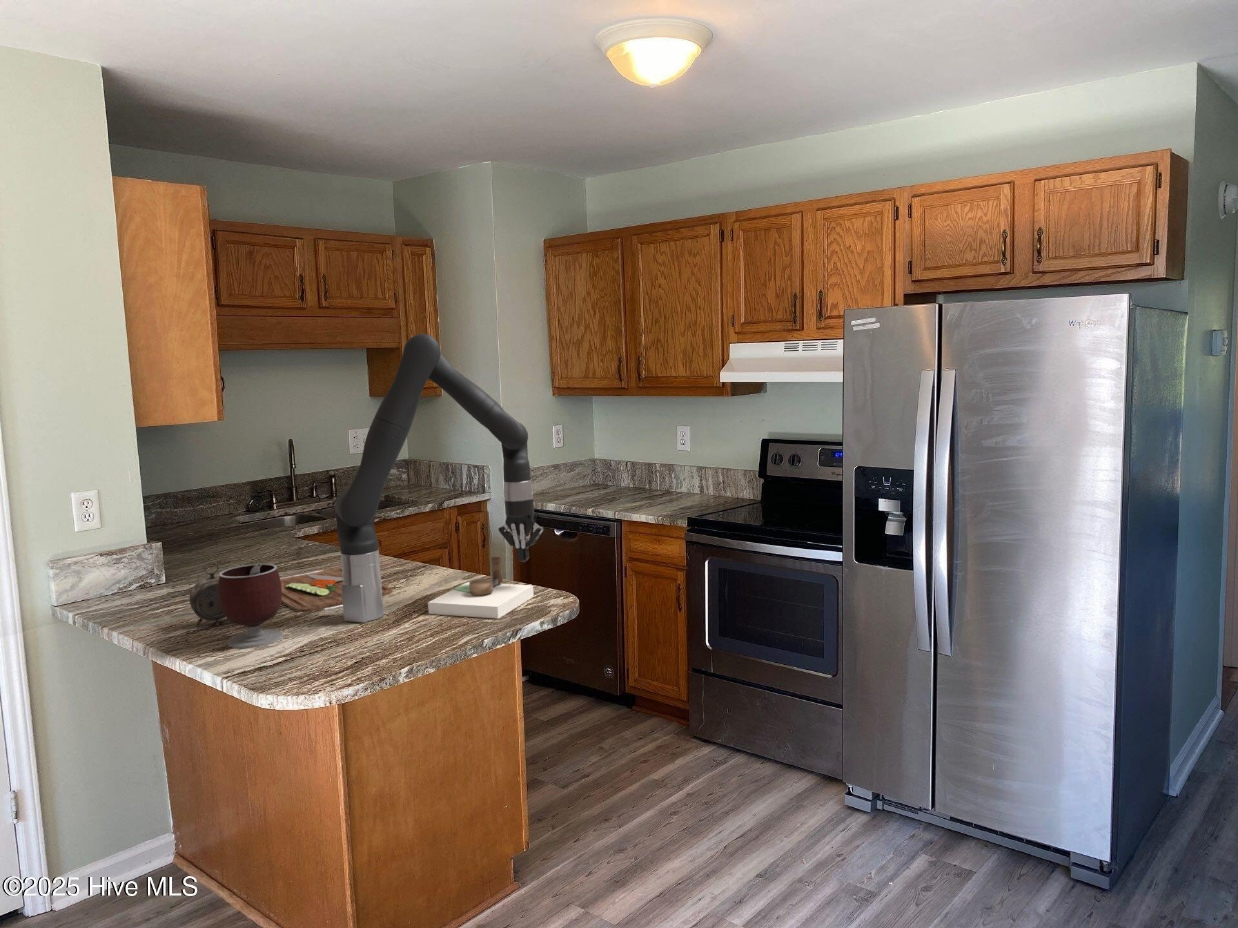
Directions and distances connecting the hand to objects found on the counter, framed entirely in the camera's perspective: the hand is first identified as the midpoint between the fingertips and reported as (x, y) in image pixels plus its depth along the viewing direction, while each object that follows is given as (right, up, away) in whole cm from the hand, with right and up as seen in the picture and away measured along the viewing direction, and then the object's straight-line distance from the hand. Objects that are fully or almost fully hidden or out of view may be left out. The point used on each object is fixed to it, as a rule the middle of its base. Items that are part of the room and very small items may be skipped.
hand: (523, 561), depth 242 cm
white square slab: (-10, -11, -4) cm, 16 cm away
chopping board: (-60, -11, +20) cm, 64 cm away
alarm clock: (-77, -15, -10) cm, 80 cm away
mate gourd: (-61, -16, -25) cm, 68 cm away
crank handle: (-9, -7, -1) cm, 12 cm away
